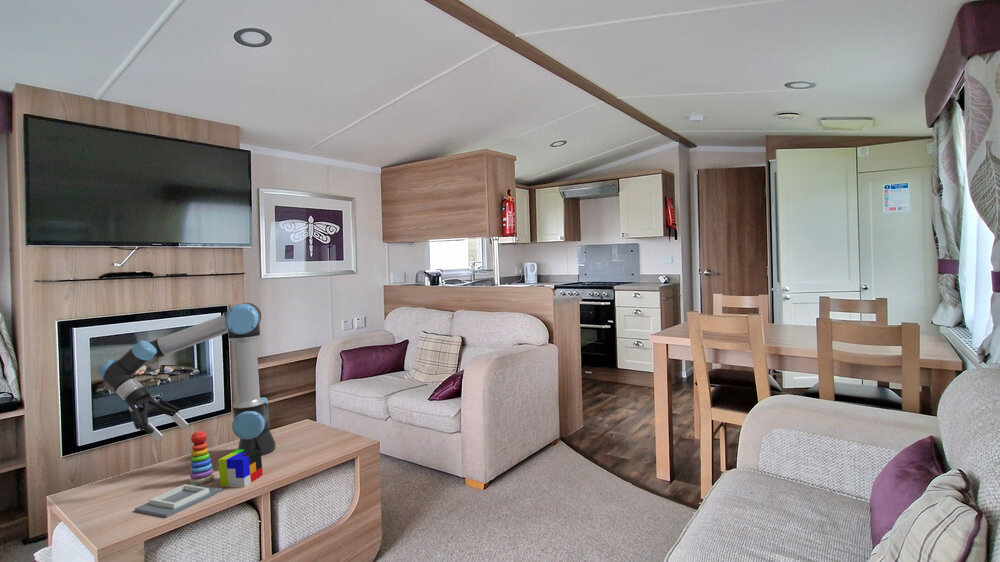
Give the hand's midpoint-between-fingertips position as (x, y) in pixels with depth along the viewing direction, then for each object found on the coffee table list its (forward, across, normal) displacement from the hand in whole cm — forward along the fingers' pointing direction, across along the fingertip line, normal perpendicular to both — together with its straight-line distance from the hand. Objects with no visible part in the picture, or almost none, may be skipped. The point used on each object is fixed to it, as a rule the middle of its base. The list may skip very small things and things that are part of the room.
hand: (173, 432), depth 196 cm
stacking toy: (+20, 0, -6) cm, 21 cm away
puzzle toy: (+32, +1, +6) cm, 33 cm away
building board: (+23, +17, -3) cm, 29 cm away
